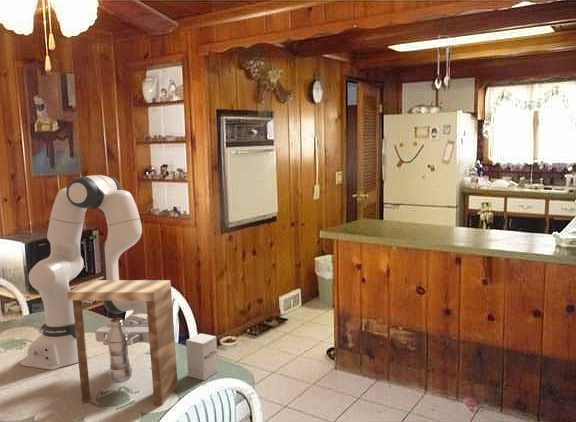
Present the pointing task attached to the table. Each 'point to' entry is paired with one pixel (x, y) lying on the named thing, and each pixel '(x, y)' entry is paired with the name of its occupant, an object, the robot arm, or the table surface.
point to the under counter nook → (158, 325)
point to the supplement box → (202, 356)
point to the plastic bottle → (118, 352)
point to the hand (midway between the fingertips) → (116, 342)
